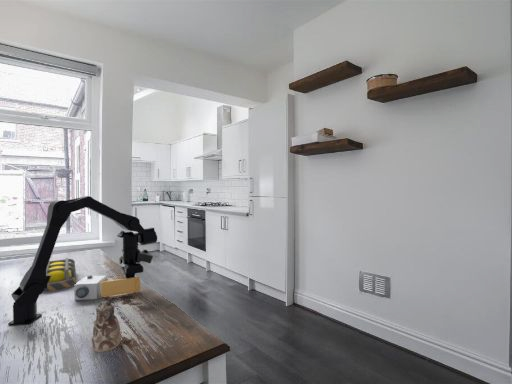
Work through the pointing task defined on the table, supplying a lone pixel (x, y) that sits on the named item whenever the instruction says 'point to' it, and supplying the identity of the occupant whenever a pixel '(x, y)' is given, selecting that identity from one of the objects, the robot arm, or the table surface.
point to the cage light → (61, 274)
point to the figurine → (106, 328)
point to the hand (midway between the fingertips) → (130, 284)
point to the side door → (118, 287)
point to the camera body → (88, 287)
